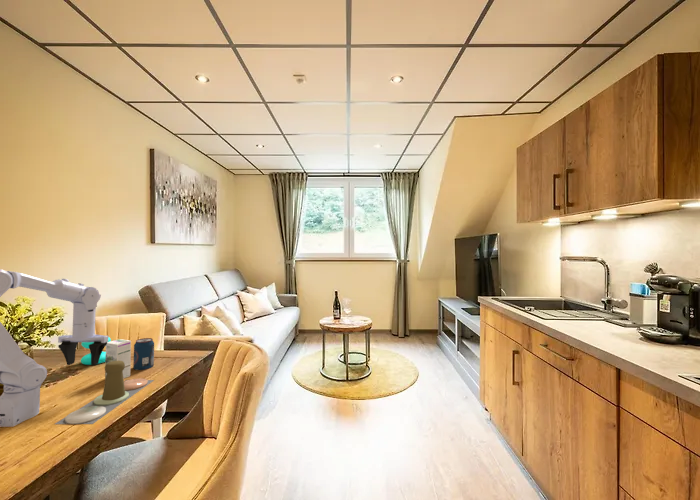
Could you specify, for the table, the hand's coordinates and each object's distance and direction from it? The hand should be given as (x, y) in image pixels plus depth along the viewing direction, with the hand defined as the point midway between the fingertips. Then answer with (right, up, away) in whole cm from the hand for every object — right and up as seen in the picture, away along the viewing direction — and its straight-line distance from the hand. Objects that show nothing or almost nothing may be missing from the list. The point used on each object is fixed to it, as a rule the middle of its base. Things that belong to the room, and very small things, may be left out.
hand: (82, 364), depth 105 cm
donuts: (-21, -11, +32) cm, 40 cm away
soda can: (+4, -11, +24) cm, 27 cm away
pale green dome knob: (+13, -10, -4) cm, 16 cm away
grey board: (+12, -11, -4) cm, 17 cm away
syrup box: (+2, -11, +13) cm, 17 cm away
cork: (+13, -9, -3) cm, 16 cm away
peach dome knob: (+12, -10, +7) cm, 17 cm away
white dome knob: (+13, -10, -14) cm, 22 cm away
